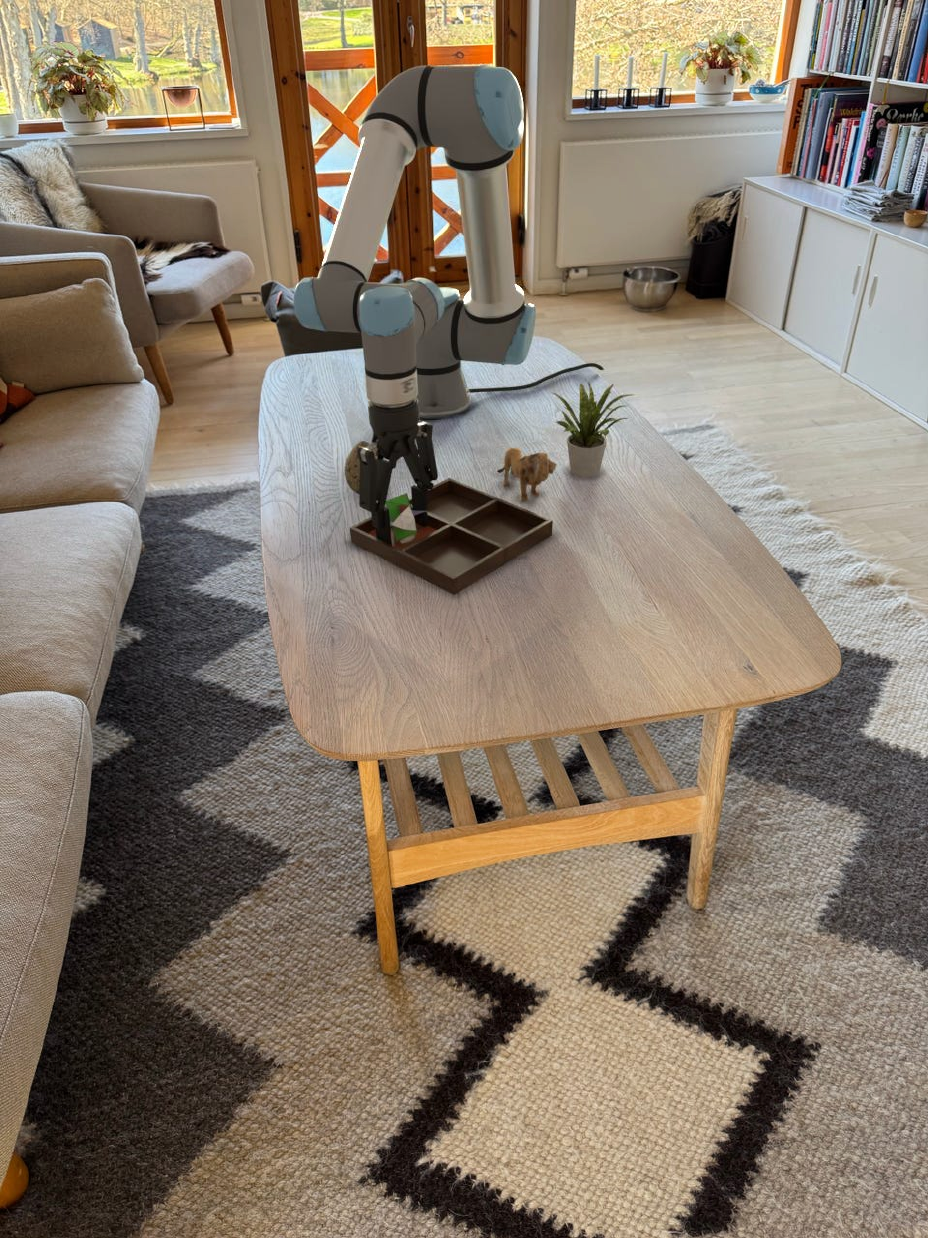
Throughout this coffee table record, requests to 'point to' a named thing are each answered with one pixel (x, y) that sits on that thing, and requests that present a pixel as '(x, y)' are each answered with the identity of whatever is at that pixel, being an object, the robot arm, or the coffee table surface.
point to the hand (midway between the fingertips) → (402, 533)
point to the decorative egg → (354, 467)
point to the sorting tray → (459, 537)
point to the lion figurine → (527, 469)
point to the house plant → (588, 432)
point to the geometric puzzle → (402, 517)
